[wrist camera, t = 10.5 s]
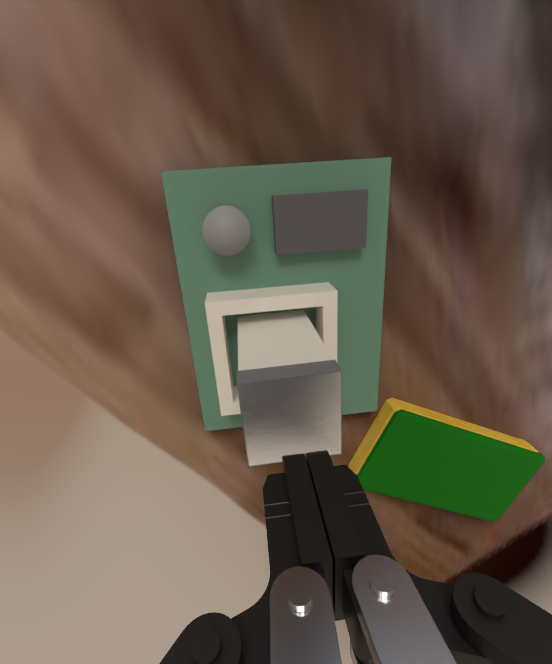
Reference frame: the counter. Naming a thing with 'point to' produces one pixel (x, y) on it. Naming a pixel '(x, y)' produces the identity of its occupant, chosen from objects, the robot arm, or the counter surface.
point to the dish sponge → (443, 461)
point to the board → (282, 266)
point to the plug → (287, 388)
